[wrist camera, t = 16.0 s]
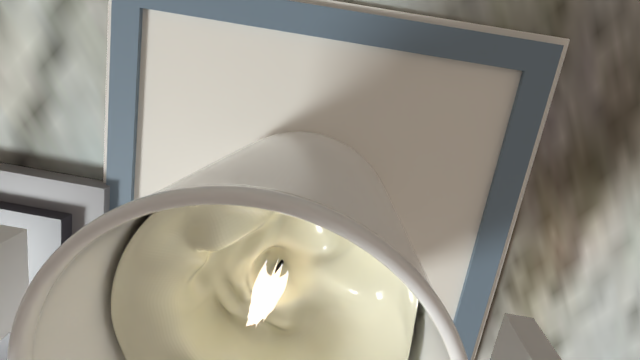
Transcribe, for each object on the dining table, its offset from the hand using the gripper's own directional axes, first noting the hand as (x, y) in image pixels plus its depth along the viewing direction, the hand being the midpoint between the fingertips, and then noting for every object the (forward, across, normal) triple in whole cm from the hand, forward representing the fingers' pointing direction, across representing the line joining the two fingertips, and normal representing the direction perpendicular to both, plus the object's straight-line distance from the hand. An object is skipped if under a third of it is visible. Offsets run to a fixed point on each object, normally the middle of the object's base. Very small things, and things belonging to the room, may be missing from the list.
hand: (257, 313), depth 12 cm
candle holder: (+9, 0, 0) cm, 9 cm away
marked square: (+9, 0, 0) cm, 9 cm away
